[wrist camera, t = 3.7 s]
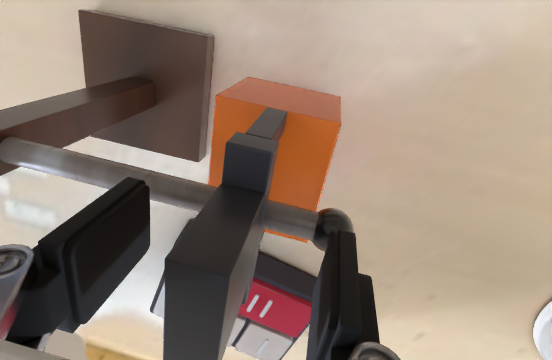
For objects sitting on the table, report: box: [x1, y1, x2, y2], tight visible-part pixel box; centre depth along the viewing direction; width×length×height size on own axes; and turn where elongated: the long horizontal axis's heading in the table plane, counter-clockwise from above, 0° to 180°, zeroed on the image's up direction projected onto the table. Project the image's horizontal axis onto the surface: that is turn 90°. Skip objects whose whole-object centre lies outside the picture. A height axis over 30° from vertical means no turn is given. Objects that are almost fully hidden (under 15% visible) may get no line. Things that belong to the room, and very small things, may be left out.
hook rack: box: [0, 10, 354, 252], centre depth 18 cm, size 21×10×18 cm, turn 80°
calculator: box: [150, 219, 317, 360], centre depth 33 cm, size 11×4×15 cm
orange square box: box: [163, 77, 341, 360], centre depth 15 cm, size 6×7×15 cm
